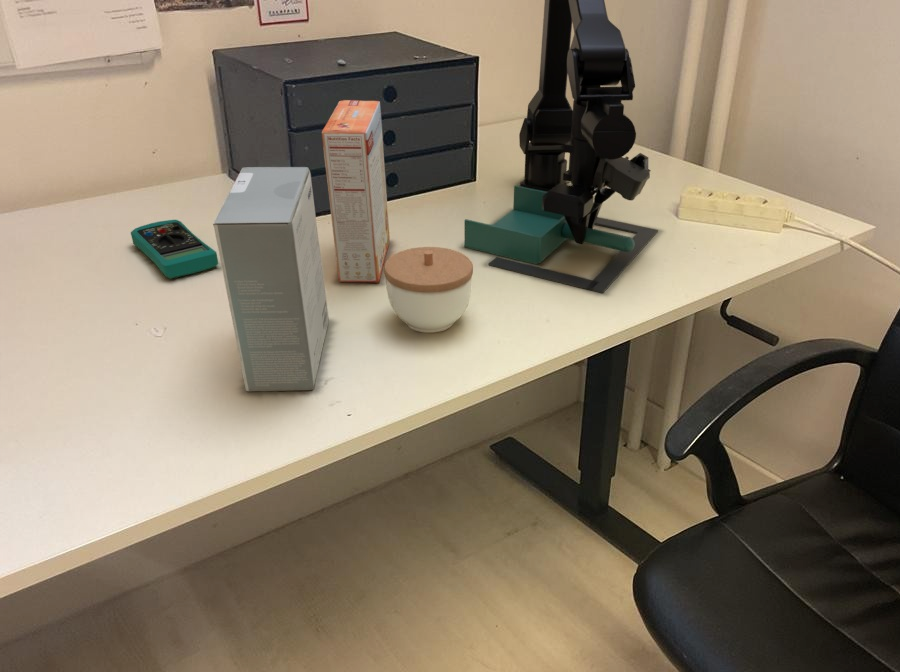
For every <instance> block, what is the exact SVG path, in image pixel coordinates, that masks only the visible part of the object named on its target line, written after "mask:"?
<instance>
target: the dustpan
mask: <svg viewBox="0 0 900 672" xmlns="http://www.w3.org/2000/svg"><path fill="white" fill-rule="evenodd" d="M547 192H548V191H544V190H539V189H534V188H529V187H524V186H520V185H514V186H513V206H512V207H513V209H512V210H511V211H509V212H508V213H506V214H505V215H504V216H502V217H501V218H500V219H498V220H497V221H496V222H494V223H493V224H490V223H489V224H488V223H484V222H480V221H475V220H471V219H467V218H466V219H464V248H466V249H470V250H471V249H472V250H476V251H479V252H483V253H487V254H492V255H497V256H500V257H503V258H508V259H512V260H517V261H521V262H525V263H529V264H533V265H538V264H541V263H542V262H543V261H544V260H545V259H546V258H548V257H549V256H550V255H551V254H552V253H553V252H554V251H555V250H556V249H558V248H559V247H560V246H561V245H562V244H563V243H564V242H566V241H567V240H572V241H575V240H574V238H573V235H572V233H571V230H570V228H569V226H568V223H567V221H566V219H565V217H564V215H561V214H556V213H551V212H547V211H543V210H542V196H543V195H544V194H546V193H547ZM632 238H633V237H631V236H627V235H623V234H618V233H614V232H609V231H604V230H598V229H595V228H593V229H591V228H587V231H586V235H585V239H584V242H583V244H584V243H585V244H589V245H593V246H598V247H602V248H607V249H612V250H615V251H619V252H620V251H624V252H629V251H631V250H632V249H633V248H634V246H635V243H634V240H633V239H632Z"/></svg>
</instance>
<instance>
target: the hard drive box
mask: <svg viewBox="0 0 900 672" xmlns="http://www.w3.org/2000/svg"><path fill="white" fill-rule="evenodd" d="M212 226H213V230H214V234H215V239H216V244H217V249H218V254H219V259H220V265H221V269H222V270H221V271H222V275H223V280H224V285H225V291H226V295H227V300H228V307H229V311H230V316H231V321H232V326H233V332H234V336H235V342H236V347H237V352H238V358H239V363H240V368H241V373H242V378H243V383H244V388H245V391H246V392H280V391H282V392H283V391H285V392H287V391H312V390H313V389H314V388H315V383H316V378H317V375H318V371H319V365H320V361H321V358H322V353H323V347H324V343H325V340H326V337H327V330H328V325H329V321H330V320H329V308H328V300H327V293H326V285H325V277H324V269H323V263H322V262H323V261H322V255H321V246H320V240H319V231H318V224H317V216H316V208H315V200H314V191H313V182H312V174H311V169H309V167H306V166H255V167H254V166H249V167H246V166H245V167H241V170H240V172H239V173H238V175H237V176H236V178H235V180H234V183H233V185H232V186H231V187H230V190H229V192H228V195H227V197H226V198H225V199H224V202H223V203H222V205H221V207H220V210H219V211H218V213H217V215H216V217H215V219H214V221H213V222H212Z"/></svg>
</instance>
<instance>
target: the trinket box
mask: <svg viewBox="0 0 900 672" xmlns="http://www.w3.org/2000/svg"><path fill="white" fill-rule="evenodd" d="M383 273H384V277H385V286H386V293H387V298H388V301H389V303H390V307H391V308H392V310H393V312H394V313H395V314H396V316H397V317H398V318H399V319H400V320H401V321H402V322H404V323H406V325H407V327H408V328H409V329H411V330H414V331H416V332H418V333H425V334H427V333H428V334H429V333H430V334H432V333H439V332H444V331H446V330H448V329H450V328H452V327H453V325H454V324H455V322H456V321H458V320H459V318H461V317H462V316H463V314H464V313H465V311H466V309H467V308H468V305H469V302H470V300H471V299H470V298H471V295H472V289H473V287H472V286H473V274H474V263H473V262H472V260H471V259H470V257H468V256H467V255H466V254H464V253H462V252H460V251H457V250H454V249H451V248H446V247H438V246H420V247H413V248H408V249H405V250H400V251H398V252H396V253H394V254H392V255H391V256H389V258H387V260H386V261H385V262H384V264H383Z"/></svg>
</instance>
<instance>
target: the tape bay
mask: <svg viewBox="0 0 900 672" xmlns="http://www.w3.org/2000/svg"><path fill="white" fill-rule="evenodd" d="M594 226H600V227H605V228H609V229H613V230H619V231H623V232H628V233H633V234H634V236H633V237H631V238H632V239H633V240H634V243H635V246H634V248H633V249H632V250H631V251H629V252H624V251H620V250H619V252H618V253H616V255H615V256H614V257H613V258H612V259H611V260H610V261H609V262H608V263H607V264H606V265H605V266H604V268H602V269H601V271H600V272H599V273H598V274H597V275H596V276H594V278H593V279H590V278H585V277H582V276H577V275H572V274H569V273H564V272H560V271H558V270H557V271H556V270H553V269H552V270H551V269H548V268H544V267H539V266H535V265H531V264H527V263H523V262H518V261H514V260H511V259H507V258H504V257H503V258H502V257H498V256H496V257H495V258H493V259H492V260H491V261H490V262H488V266H491V267H494V268H498V269H503V270H506V271H511V272H514V273H519V274H523V275H526V276H531V277H535V278H539V279H544V280H547V281H552V282H555V283H558V284H564V285H567V286H572V287H575V288H578V289H579V288H581V289H583V290H587V291H592V292H596V293H598V294H599V293H600V294H604V293H605V292H606V291H607V289H608V288H609V287H610V286H611V285H612V284H613V283H614V281H616V279H617V278H618V277H619V276H620V275H621V274H622V273H623V272H624V271H625V269H626V268H627V267H628V266H629V265H630V264H631V263H632V261H633V260H635V258H636V256H638V255H639V254H640V252H641V251H642V250H643V249H644V248H645V247H646V246H647V245H648V243H649V242H650V241H651V240H652V239H653V238H654V236H656V234H657V233H658V232H659V229H655V228H651V227H647V226H641V225H636V224H632V223H627V222H623V221H618V220H613V219H608V218H604V217H603V218H602V217H599V216H597V219H596V222H595V224H594Z"/></svg>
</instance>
